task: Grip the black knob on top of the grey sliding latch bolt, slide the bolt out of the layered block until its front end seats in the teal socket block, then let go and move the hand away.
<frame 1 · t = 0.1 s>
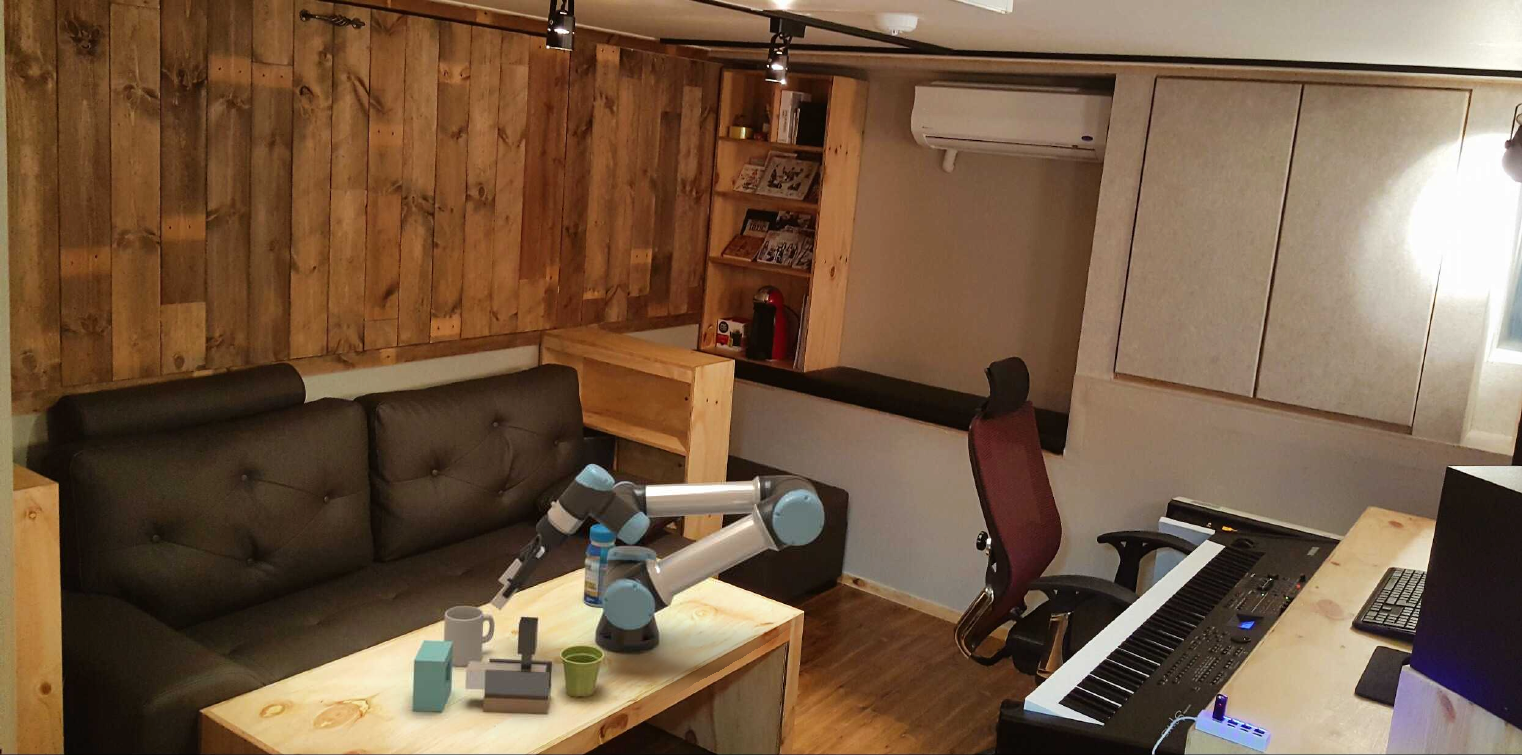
hand: (499, 594, 269), 15 cm above the table, tool tilted 35°, fingers open, 13 cm apart
plant pot: (580, 692, 259), on the table
grey sliding latch bolt: (507, 653, 249), point 11 cm above the table, slide at 0.0 cm
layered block: (517, 703, 251), on the table
socket block: (432, 700, 250), on the table
beverage bottle: (599, 602, 310), on the table
mug: (469, 657, 272), on the table
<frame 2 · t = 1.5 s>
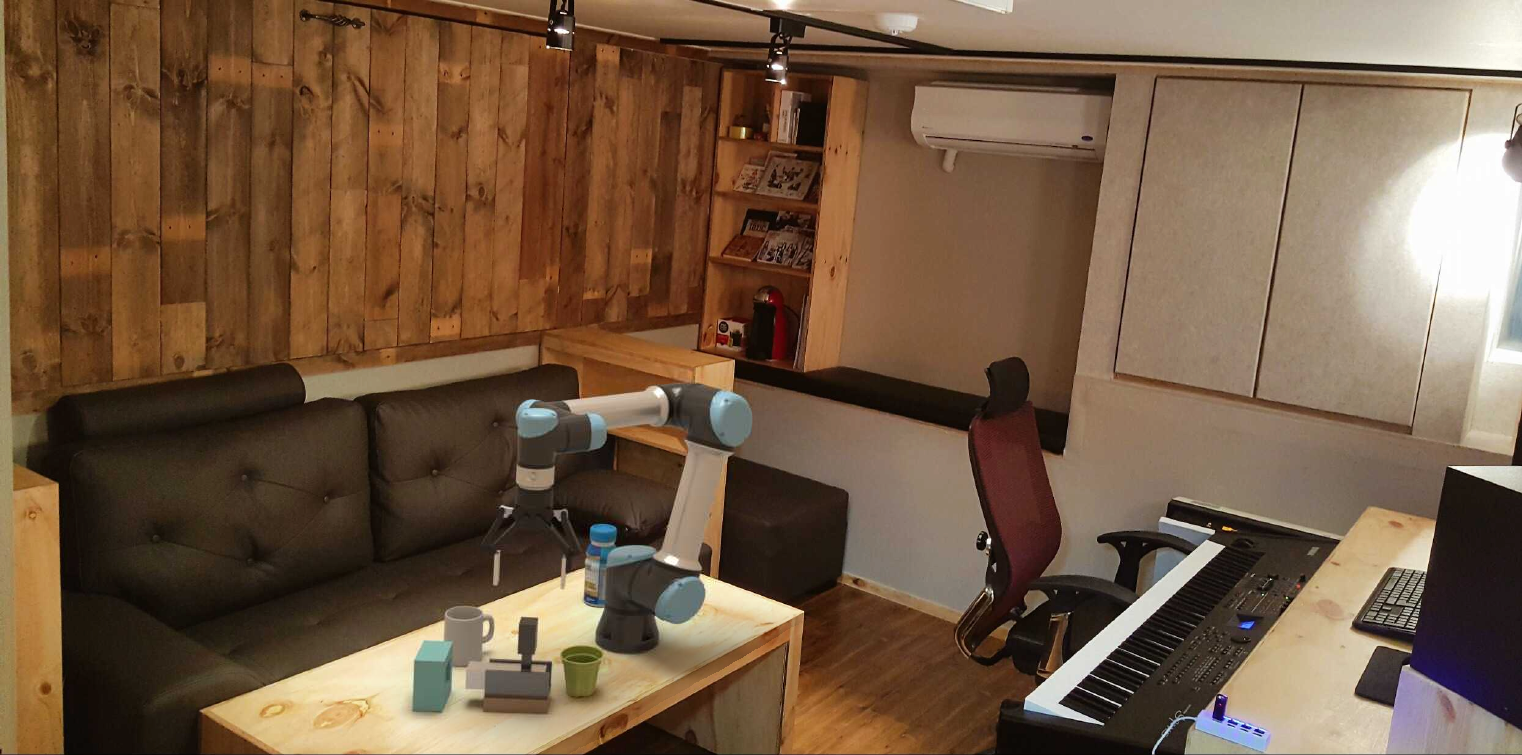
hand: (529, 585, 247), 26 cm above the table, tool pointing down, fingers open, 13 cm apart
nothing on the table moved.
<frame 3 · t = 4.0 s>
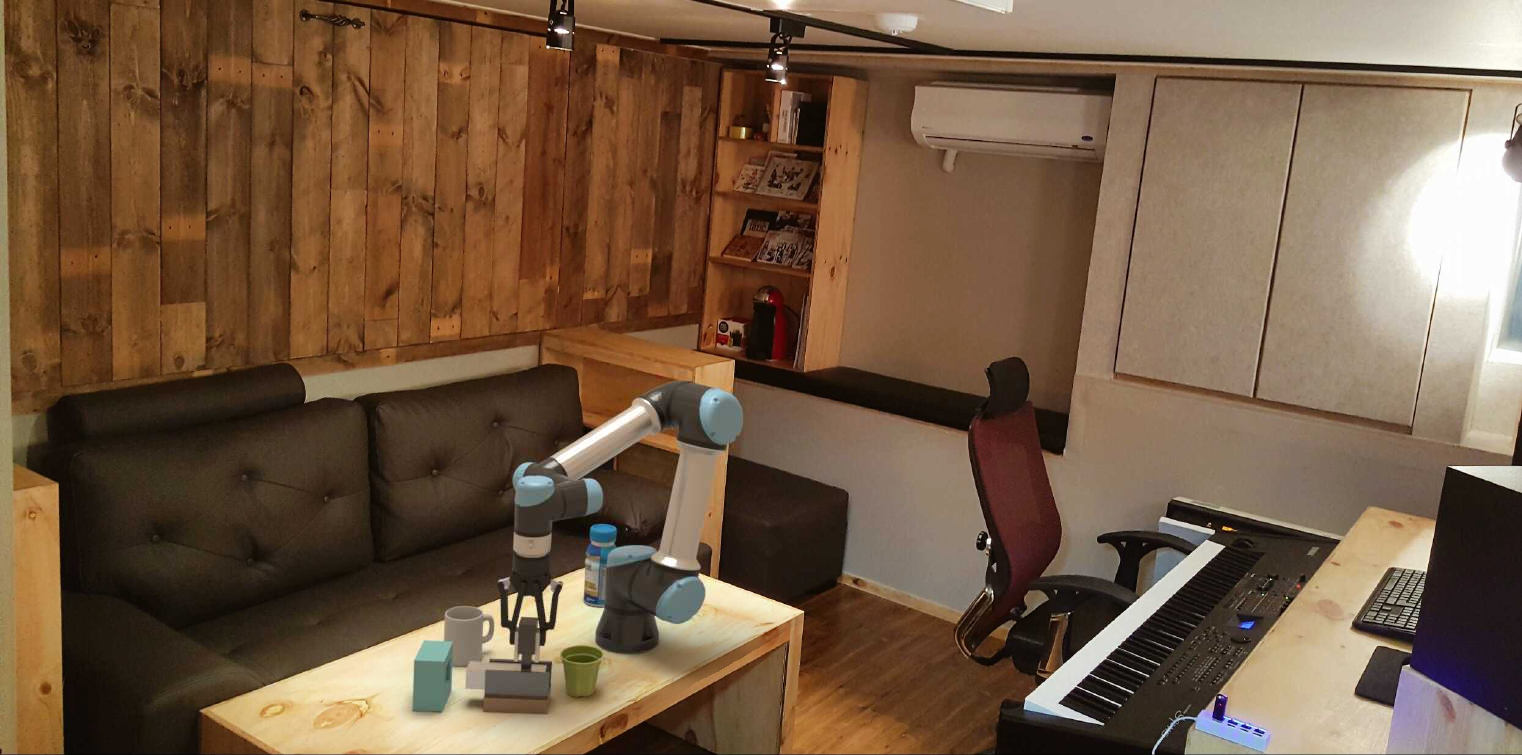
hand: (526, 659, 250), 10 cm above the table, tool pointing down, fingers closed on grey sliding latch bolt, 3 cm apart
grey sliding latch bolt: (507, 653, 249), point 11 cm above the table, slide at 0.0 cm, touching gripper
everything else where it was.
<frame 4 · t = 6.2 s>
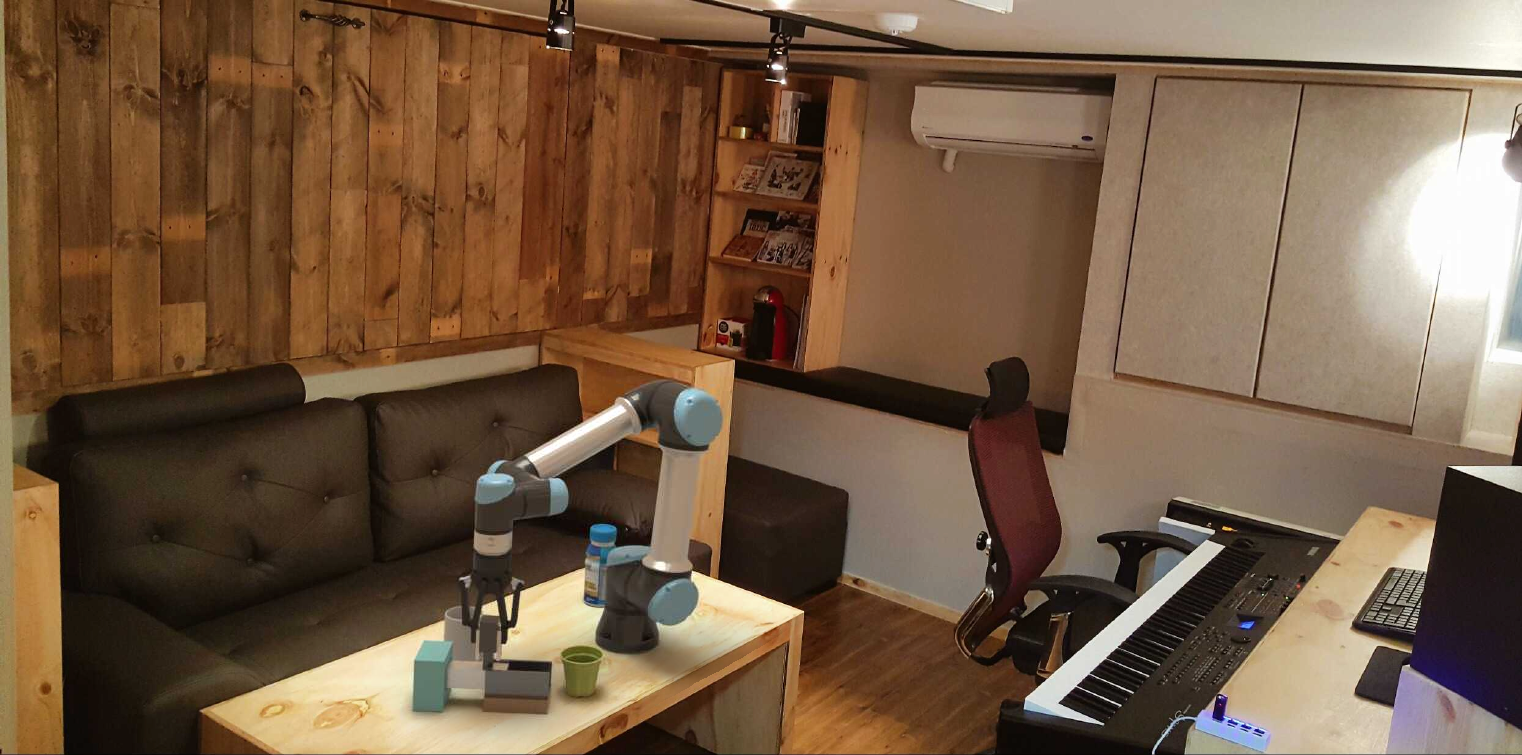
hand: (488, 657, 249), 10 cm above the table, tool pointing down, fingers closed on grey sliding latch bolt, 3 cm apart
grey sliding latch bolt: (469, 651, 248), point 11 cm above the table, slide at 7.8 cm, touching gripper
everything else where it was.
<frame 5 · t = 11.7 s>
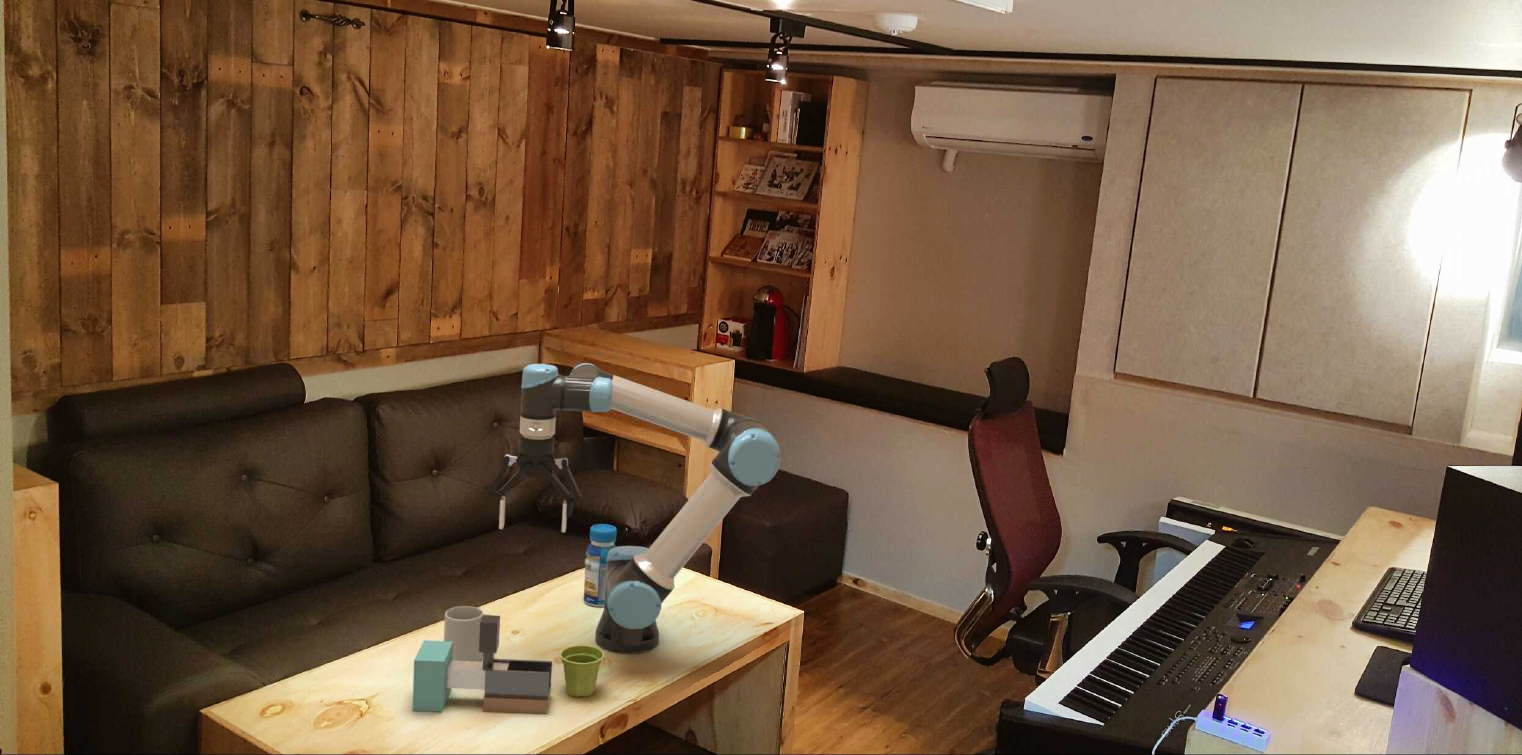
hand: (532, 528, 265), 32 cm above the table, tool pointing down, fingers open, 13 cm apart
grey sliding latch bolt: (469, 651, 248), point 11 cm above the table, slide at 7.8 cm
everything else where it was.
at the end: grey sliding latch bolt slide at 7.8 cm; the gripper is holding nothing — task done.
